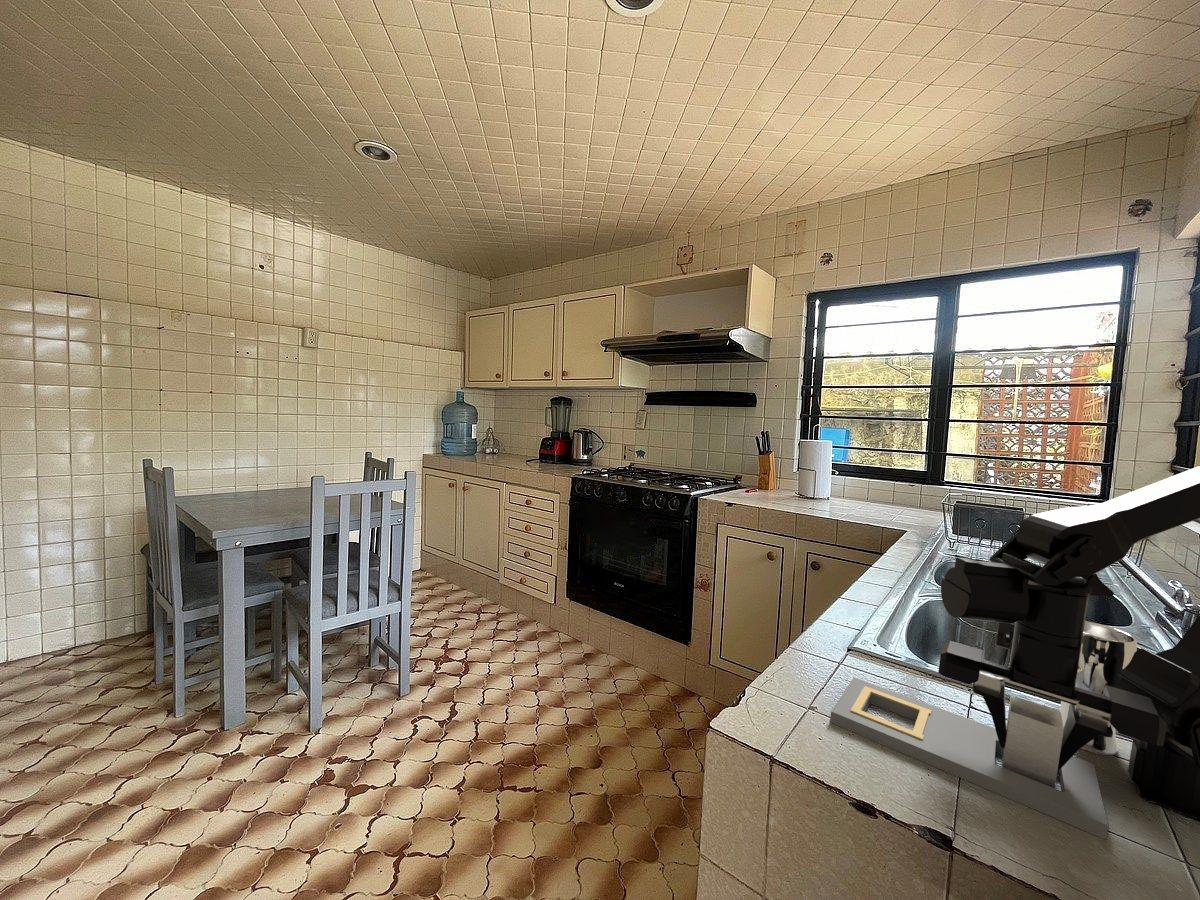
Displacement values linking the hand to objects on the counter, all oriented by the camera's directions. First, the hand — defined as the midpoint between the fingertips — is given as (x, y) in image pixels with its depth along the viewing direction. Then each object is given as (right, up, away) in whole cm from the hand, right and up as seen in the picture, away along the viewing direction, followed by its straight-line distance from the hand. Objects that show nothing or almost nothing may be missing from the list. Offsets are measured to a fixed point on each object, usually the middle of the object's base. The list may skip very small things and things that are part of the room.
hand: (1029, 756), depth 58 cm
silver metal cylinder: (+14, -3, +8) cm, 16 cm away
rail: (-5, -2, +5) cm, 7 cm away
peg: (0, -3, 0) cm, 2 cm away
